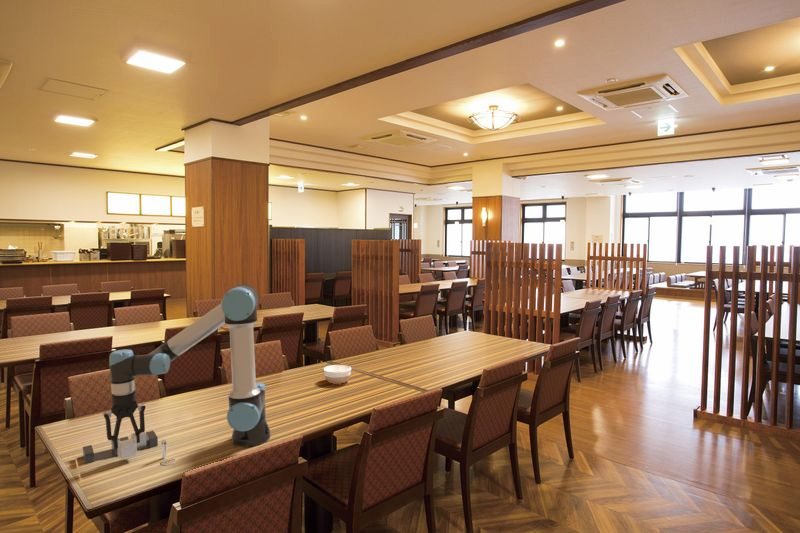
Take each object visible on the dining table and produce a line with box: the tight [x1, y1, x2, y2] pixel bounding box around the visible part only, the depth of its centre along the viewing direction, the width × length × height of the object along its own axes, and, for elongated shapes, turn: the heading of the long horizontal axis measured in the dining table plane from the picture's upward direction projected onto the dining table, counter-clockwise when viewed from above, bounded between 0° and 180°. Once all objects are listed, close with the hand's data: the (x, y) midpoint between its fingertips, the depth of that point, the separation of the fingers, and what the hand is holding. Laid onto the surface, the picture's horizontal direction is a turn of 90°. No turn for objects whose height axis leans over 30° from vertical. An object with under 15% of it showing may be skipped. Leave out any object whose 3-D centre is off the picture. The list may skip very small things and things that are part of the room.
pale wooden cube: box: [120, 438, 137, 460], centre depth 172 cm, size 4×4×5 cm
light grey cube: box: [130, 431, 146, 449], centre depth 183 cm, size 4×4×5 cm
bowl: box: [323, 364, 352, 385], centre depth 269 cm, size 16×16×8 cm
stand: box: [159, 439, 176, 466], centre depth 173 cm, size 8×5×8 cm
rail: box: [82, 430, 159, 465], centre depth 180 cm, size 8×24×4 cm, turn 129°
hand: (127, 453), depth 172 cm, fingers closed on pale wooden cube, 4 cm apart
